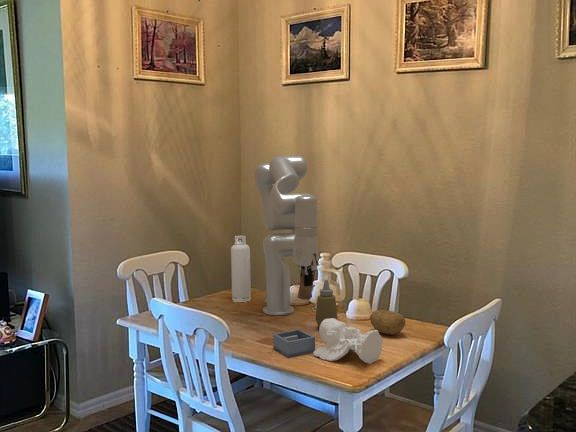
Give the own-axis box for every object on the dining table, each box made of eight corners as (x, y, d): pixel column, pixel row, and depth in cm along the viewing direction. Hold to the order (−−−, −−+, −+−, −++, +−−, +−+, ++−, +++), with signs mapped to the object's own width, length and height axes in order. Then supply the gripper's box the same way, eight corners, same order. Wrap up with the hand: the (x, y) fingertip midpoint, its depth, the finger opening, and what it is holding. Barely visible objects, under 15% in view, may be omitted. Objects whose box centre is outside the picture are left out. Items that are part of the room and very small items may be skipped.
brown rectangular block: (297, 297, 207) (302, 269, 207) (307, 298, 209) (312, 270, 209) (300, 298, 205) (305, 270, 205) (310, 299, 207) (315, 271, 207)
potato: (381, 326, 223) (381, 305, 222) (411, 335, 212) (411, 313, 211) (362, 331, 217) (362, 309, 216) (392, 341, 206) (392, 318, 205)
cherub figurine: (358, 338, 177) (308, 318, 190) (355, 377, 180) (306, 354, 193) (384, 326, 186) (335, 308, 200) (381, 364, 189) (332, 343, 202)
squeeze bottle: (336, 332, 216) (336, 283, 214) (313, 331, 217) (313, 282, 215) (338, 325, 224) (338, 278, 222) (317, 324, 225) (317, 277, 223)
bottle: (230, 302, 258) (228, 237, 255) (234, 297, 266) (233, 234, 263) (248, 302, 257) (247, 237, 254) (252, 298, 265) (251, 235, 262)
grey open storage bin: (273, 348, 199) (273, 334, 199) (299, 343, 204) (299, 329, 204) (288, 357, 191) (288, 342, 190) (315, 352, 196) (315, 337, 195)
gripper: (285, 230, 210) (285, 282, 212) (309, 235, 196) (309, 291, 198) (303, 228, 213) (303, 279, 216) (328, 233, 200) (328, 288, 202)
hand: (306, 284), depth 207 cm, fingers closed on brown rectangular block, 1 cm apart
